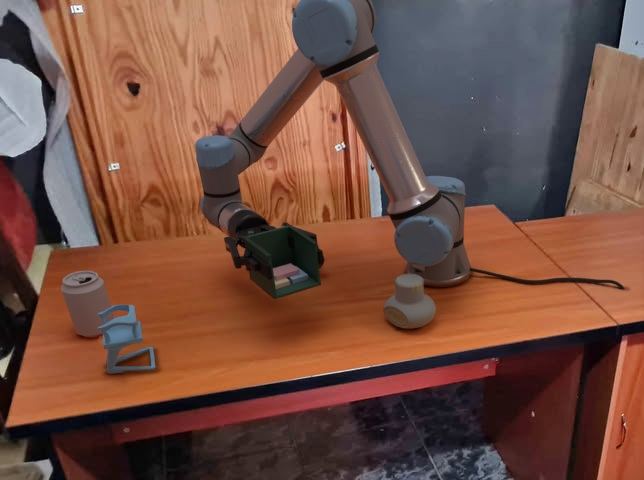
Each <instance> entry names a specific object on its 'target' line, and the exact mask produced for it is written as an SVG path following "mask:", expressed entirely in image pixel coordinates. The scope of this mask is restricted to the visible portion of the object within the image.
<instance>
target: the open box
mask: <svg viewBox="0 0 644 480" xmlns="http://www.w3.org/2000/svg"><path fill="white" fill-rule="evenodd" d="M280 227H281V228H280ZM280 227H276V228H277V229H273V230H269V231H265V232H262V233H258V234H254V235H250V236H246V237H243V240H244V244H245V247H247V248H248V249H249V250H251V254H254V253H255V254H256V255H258V256H259V257H260V258H261V259H263V260H264V261H265V262H267V263H268V264H269V265H270V266H271V272H272V278H273V279H270V280H268V279H267V278H266V277H265V276H263V275H262V274H261V273H260V272H258V271H253V270H251V271H248V274H249V279H250V281H252V282H253V283H254V284H255V285H257V286H258V287H259V288H260V289H261V290H262V291H264V292H265V293H266V294H267V295H268V296H269V297H270V298H272V299H273V300H274V301H275V300H278V299H281V298H284V297H285V298H286V297H288V296H292V295H294V294H297V293H301V292H303V291H308V290H310V289H313V288H317V287H319V286H322V279H321V269H320V268H319V258H318V248H317V245H318V246H319V243H318V241H317V242H316V241H314V240H313V239H311V238H310V237H308V236H307V235H305V234H304V233H302V232H301V231H299V230H298V229H297V228H298V227H296V226H294V225H292V224H290V225H289V226H285V227H282V226H280ZM295 227H296V228H295ZM289 235H291V236H292V237H293V239H294V247H295V248H291V247H289V244H288V237H287V236H289ZM287 264H292V265H294V266H297V267H298V268H300V269H301V270H302V271H304V272H305V273H306V274H308V278H309V279H308V280H305V281H301V282H298V283H295V284H293V283H291V282H290V285H288V286H285V287H282V288H278V289H276V287H275V280H274V273H273V268H277V267H280V266H284V265H287Z"/></svg>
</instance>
